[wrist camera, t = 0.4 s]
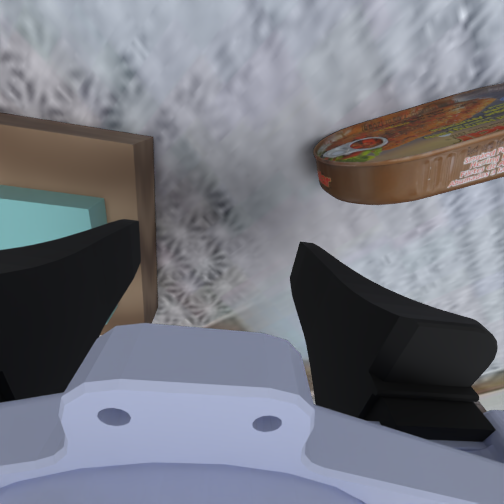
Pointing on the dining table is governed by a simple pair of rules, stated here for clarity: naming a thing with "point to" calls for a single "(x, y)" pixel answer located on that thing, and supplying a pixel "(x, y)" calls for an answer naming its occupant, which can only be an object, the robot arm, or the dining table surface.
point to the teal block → (45, 216)
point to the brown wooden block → (91, 186)
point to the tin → (417, 150)
